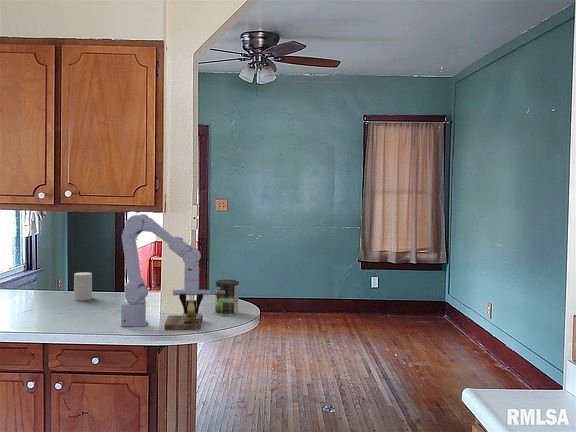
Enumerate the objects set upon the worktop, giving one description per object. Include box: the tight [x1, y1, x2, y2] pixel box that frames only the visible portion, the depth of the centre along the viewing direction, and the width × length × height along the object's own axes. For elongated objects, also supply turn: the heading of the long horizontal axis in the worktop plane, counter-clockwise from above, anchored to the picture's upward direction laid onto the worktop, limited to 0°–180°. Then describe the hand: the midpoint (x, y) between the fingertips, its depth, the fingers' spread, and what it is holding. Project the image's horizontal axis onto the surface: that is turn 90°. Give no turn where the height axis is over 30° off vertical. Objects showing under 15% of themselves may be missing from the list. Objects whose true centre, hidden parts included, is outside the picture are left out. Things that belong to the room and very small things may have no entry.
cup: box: [73, 272, 93, 301], centre depth 295 cm, size 8×8×12 cm
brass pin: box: [186, 299, 197, 318], centre depth 243 cm, size 4×4×6 cm
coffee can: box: [214, 279, 240, 317], centre depth 270 cm, size 10×10×14 cm
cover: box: [182, 309, 202, 319], centre depth 253 cm, size 7×7×2 cm
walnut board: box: [163, 314, 203, 331], centre depth 248 cm, size 14×16×2 cm
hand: (191, 313), depth 244 cm, fingers closed on brass pin, 4 cm apart
